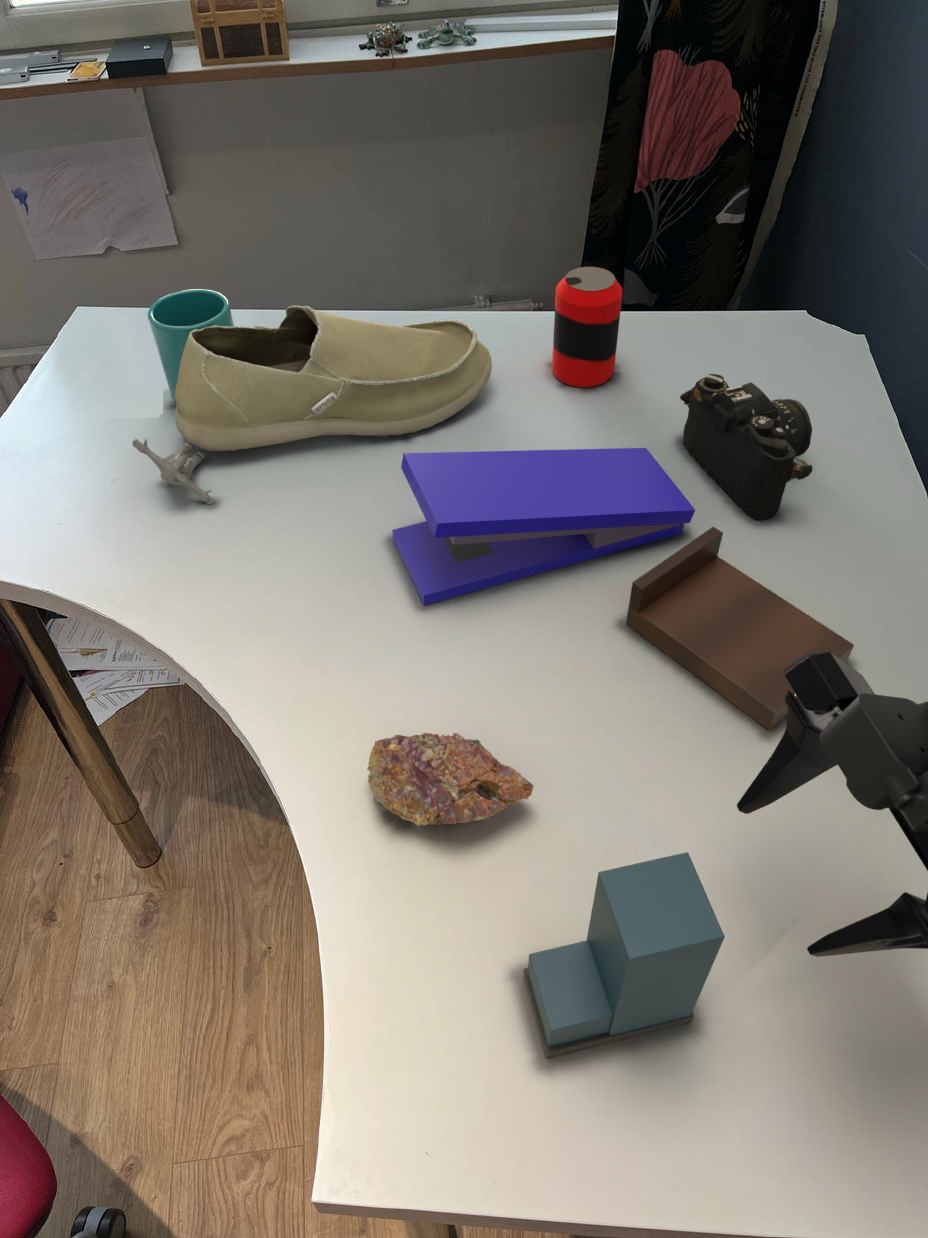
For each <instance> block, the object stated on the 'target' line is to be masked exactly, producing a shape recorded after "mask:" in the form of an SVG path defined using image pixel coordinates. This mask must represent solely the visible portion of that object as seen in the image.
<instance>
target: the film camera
mask: <svg viewBox="0 0 928 1238" xmlns="http://www.w3.org/2000/svg"><path fill="white" fill-rule="evenodd" d="M728 384H729V383H728V382H727V381H725V378H724V376H722V375H721V374H719V373H709V374H707V375H705V376H704V377H701V378H700V379H699V380H697V381H695V384H694V386H693V387H692V388H690V389H689V390H687V391H685V392H684V393H682V394H681V395H680V396H679V399H680V400H681V401H682V402H683V405H685V406H687V408H688V412H687V418H686V420H685V423H684V427H683V432H682V434H683V435H682V444H683V445H684V446H686V447H687V451H688V452H689V454H690V455H692V458H693V459H695V460H696V461H697V462H698V463H699V464H700V465H701V467H702V468H703V469H704V470H706V472H707V473H708V474H709V475H710V476H711V477H712V479H713V480H714V481H715V482H716V483H717V484H718V485H719V486H720V487H721V488H722V489H723V490H724V491H725V492H726V493H727V494H728V495H729V496H730V497H731V498H732V500H733V501H734V502H735V503H736V504H737V505H738V506H739V507H740V508H741V509H742V510H743V511H744V512H745V513H746V514H748V515H749V516H750V517H752V518H753V519H755V520H758V521H759V520H760V521H761V520H768V519H770V518H772V517H776V515H777V514H778V512H779V510H780V507H781V504H782V500H783V497H784V493H785V490H786V485H787V484H788V482H789V481H792V480H794V479H796V480H798V481H799V480H803V479H805V478H807V477H809V476H811V475H810V474H811V473H812V472H813V465H812V464H808V463H807V461H805V460H803V459H799V458H798V459H795V458H797V457H800V456H802V455H804V454H805V453H807V451H808V450H809V449H810V445H811V440H812V435H813V427H812V423H811V418H810V415H809V412H808V409H806V407H805V406H804V405H803V404H802V403H801V402H800V401H799V400H796V399H793V398H785V399H782V398H778V399H772V400H771V399H770V398H769V397H768V396H767V395H766V394H765V392H764V391H763V390H762V389H760V388H759V387H758V386H757V385H756V384H754V383H753V382H748V383H745V384H741V385H737V386H729V385H728ZM798 461H799V462H800V463H801V464H802V465H800V464H799V463H798Z"/></svg>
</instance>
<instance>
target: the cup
mask: <svg viewBox="0 0 928 1238" xmlns="http://www.w3.org/2000/svg"><path fill="white" fill-rule="evenodd" d="M147 320H148V322H149V327H150V329H151V333H152V336H153V340H154V342H155V343H154V344H155V346H156V349H157V352H158V353H157V354H158V355H159V359H160V363H161V366H162V369H163V373H164V376H165V379H166V382H167V386H168V389H169V393H170V396H171V399H172V401H173V402H174V403H175V405H177V403H176V398H175V390H176V385H177V380H178V374H179V369H180V364H181V359H182V355H183V352H184V348H185V345H186V342H187V339H188V336H189V333H190V332H191V331H193V330H195V329H197V330H200V329H202V328H205V327H210V326H213V325H215V326H228V327H231V326H232V327H235V324H234V319H233V315H232V312H231V306H230V303H229V300H228V298H227V297H226V296H224V295H223V294H222V293H220V292H218V291H214V290H210V289H201V288H200V289H199V288H195V289H185V290H180V291H176V292H172V293H169V294H167V295H165V296H163V297H161V298H159V299H158V300H155V302H154V303H153V304H152V305H151V306H150V307H149V309H148V311H147Z"/></svg>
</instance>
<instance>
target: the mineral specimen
mask: <svg viewBox="0 0 928 1238" xmlns="http://www.w3.org/2000/svg"><path fill="white" fill-rule="evenodd" d="M366 770H367V771H369V774H368V776H367V777H368V779H367V782H368V784H369V786H370V792H371V794H373V798H374V801H375V802H376V803H377V804H381V805H382V807H384V809H386V810H388V811H389V812H390V813H391V814H392V815H395V816H397V817H399V818H400V819H401V820H403V821H409V822H411V823H413V824H415V825H416V826H419V827H421V826H427V825H431V826H433V825H443V824H444V825H445V824H446V825H451V824H463V823H465V824H466V823H470V822H473V821H482V820H485V819H488V818H490V817H492V816H495V815H497V814H498V813H501V811H502V810H505V809H507V808H508V807H509V805H512V804H517V803H518V802H519V801H521V800H528V799H529V798H530V797H531V796H532V794H533V790H534V784H532V783H531V781H529V780H528V779H526V777H524V776H522V774H521V773H520V772H519V771H518V770H516V769H515V768H513V767H511V766H510V765H509V766H508V765H505V764H503V763H502V762H500V761H498V759H497V758H496V757H494V755H493V754H492V753H491V752H490V751H489V750H488V749H487V748H485V747H484V746H483V744H482V743H481V741H480V740H479V739H471V738H470V739H467V738H465V737H463V735H461V734H459V733H456V732H454V733H452V735H449V734H447V735H445V734H442V735H441V736H440V735H439V734H437V733H431V732H429V733H428V732H423V733H421V734H413V735H411V736H407V735H402V734H395V735H393V736H392V737H385V738H381V739H378V740H375V741H374V745H373V746H372V748H371V751H370V755H369V758H368V765H367V768H366ZM479 790H481V791H482V792H483V794H485V795H486V796H487V798H485V797H483V796H481V795H480V794H479V793H478V792H477V791H479Z"/></svg>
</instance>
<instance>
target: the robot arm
mask: <svg viewBox="0 0 928 1238" xmlns="http://www.w3.org/2000/svg"><path fill="white" fill-rule="evenodd" d="M784 675H785V677H786V678H787V680H788V682H789V683H790V685H791V687H792V688H793V690H794V692H795V693H796V694H793V693H792V692H790V691H787V692H786V694H785V696H784V701H785V703H786V704H787V707H788V714H787V715H786V722H785V724H786V725H785V730H784V732H783V734H782V736H781V738H780V739H779V742H778V744H777V746H776V747H775V749H774V750H773V752H772V754H771V755H770V757H769V758H768V760H767V762H765V764H764V765H763V766H762V768H761V770H760V771H759V773H758V774H757V775H756V776H755V778H754V779H753V781H751V783H750V785H749V786H748V788H747V789H746V791H745V792H744V794H743V795H742V796H741V797H740V799H739V800H738V802H737V803H736V808H737V809H738V812H740V813H743V814H745V815H748V814H752V813H753V812H756V811H758V810H760V809H762V808H765V807H767V806H770V805H771V804H773V803H774V802H777V801H778V800H780V799H781V798H783V797H785V796H786V795H788V794H790V793H792V792H794V791H795V790H797V789H799V788H801V787H802V786H804V785H806V784H807V783H808V782H811V781H812V780H814V779H816V778H817V777H819V776H820V775H822V774H824V773H827V771H829V770H831V769H832V768H834V767H837V766H838V768H839V769H840V771H841V773H842V774H843V776H844V778H845V779H846V782H845V783H846V787H847V790H849V793H850V794H851V795H852V797H853V798H854V799H855V801H856V802H858V803H859V804H860V805H862V806H863V807H865V808H867V809H869V810H873V811H874V810H875V811H883V810H884V809H888V810H889V811H890V813H891V815H892V816H893V818H894V819H895V821H896V823H897V824H898V826H899V827H900V830H901V831H902V832H903V834H904V836H905V837H906V839H907V840H908V842H909V844H910V845H911V847H912V849H913V850H914V852H915V853H916V855H917V857H918V858H919V860H920V861H921V863H922V865H923V866H924V868H925V870H926V871H927V872H928V700H927V701H923V702H920V703H917V702H915V701H914V700H912V699H910V698H905V697H897V696H890V695H883V694H876V693H875V691H874V690H873V689H872V687H871V686H870V685H869V683H868V681H867V680H866V678H865V677H864V675H863V674H861V673H860V672H858V671H857V670H856V669H855V668H853V667H851V666H850V665H849V664H848V663H845V662H843V661H842V660H840V659H839V658H838V657H836V656H835V655H834V654H832V653H831V652H815V653H810V654H806V655H805V656H803V657H802V658H800V659H799V660H797V661H796V662H795V663H793V664H792V665H790V666H789V667H788V668H786V669H785V670H784ZM901 949H913V950H914V949H917V950H918V949H919V950H921V949H923V950H924V949H925V950H928V892H927V893H926V897H925V899H924V898H921V897H919V896H916V895H914V894H911V893H909V892H906V891H905V892H903V893H901V895H899V897H898V898H896V900H894V901H893V902H892V903H891V904H890V905H889V906H888V907H886V908H885V909H882V910H880V911H878V912H875V913H874V914H873V913H872V914H871V915H869V916H867V917H864V918H862V919H860V920H857V921H854V922H853V923H850V924H848V925H846V926H844V927H841V928H839V929H836V930H834V931H832V932H829V933H828V934H826V935H824V936H822V937H821V938H819V939H818V940H816V941H814V942H813V943H811V944H810V945H808V946H807V947H806V951H807V952H808V954H809V955H810V956H813V957H816V958H817V957H818V958H821V957H830V956H839V955H850V954H860V953H861V954H862V953H869V952H878V951H890V950H891V951H892V950H901Z"/></svg>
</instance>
